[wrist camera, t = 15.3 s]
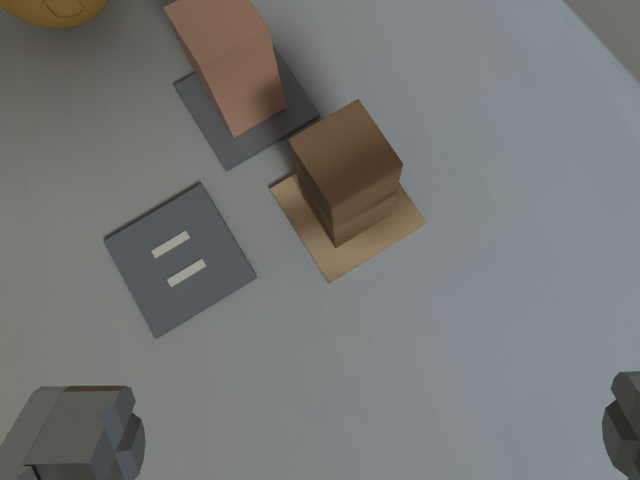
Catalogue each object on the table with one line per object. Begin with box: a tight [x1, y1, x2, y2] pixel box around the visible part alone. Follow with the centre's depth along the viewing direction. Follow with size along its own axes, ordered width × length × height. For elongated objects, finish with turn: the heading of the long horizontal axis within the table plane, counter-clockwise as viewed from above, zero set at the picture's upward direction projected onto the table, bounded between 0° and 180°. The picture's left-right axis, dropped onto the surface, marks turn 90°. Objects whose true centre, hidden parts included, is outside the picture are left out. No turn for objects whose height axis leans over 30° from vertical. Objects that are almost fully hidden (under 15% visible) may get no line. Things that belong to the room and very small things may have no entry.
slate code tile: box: [104, 184, 257, 339], centre depth 41 cm, size 8×8×1 cm
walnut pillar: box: [288, 99, 403, 249], centre depth 36 cm, size 4×4×10 cm
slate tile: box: [174, 45, 320, 172], centre depth 43 cm, size 8×8×1 cm
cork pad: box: [270, 173, 426, 283], centre depth 41 cm, size 8×8×1 cm
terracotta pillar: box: [163, 0, 287, 138], centre depth 38 cm, size 4×4×10 cm
